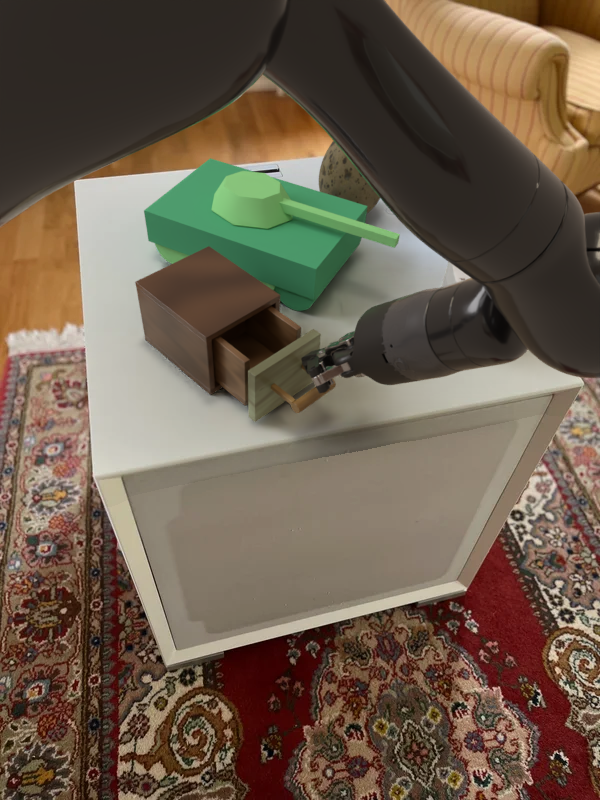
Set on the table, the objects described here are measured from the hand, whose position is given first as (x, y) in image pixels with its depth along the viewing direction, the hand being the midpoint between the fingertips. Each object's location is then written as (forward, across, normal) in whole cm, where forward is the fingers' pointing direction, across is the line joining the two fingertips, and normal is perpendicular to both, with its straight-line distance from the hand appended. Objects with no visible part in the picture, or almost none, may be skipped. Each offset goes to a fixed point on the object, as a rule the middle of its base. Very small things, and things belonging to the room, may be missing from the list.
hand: (309, 363), depth 70 cm
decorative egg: (+26, -38, -12) cm, 48 cm away
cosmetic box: (+4, -25, +9) cm, 27 cm away
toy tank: (+24, -19, -10) cm, 33 cm away
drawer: (+11, 0, +1) cm, 11 cm away
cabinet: (+19, 0, -6) cm, 20 cm away
